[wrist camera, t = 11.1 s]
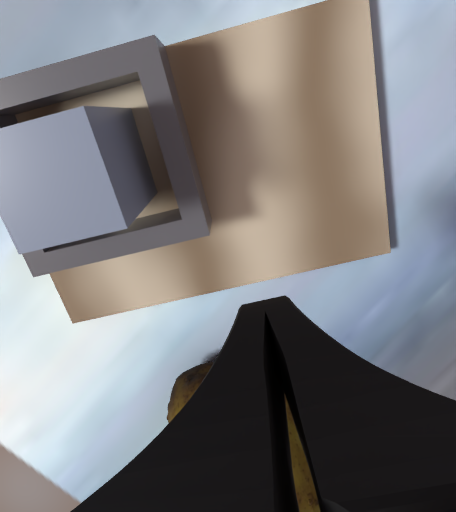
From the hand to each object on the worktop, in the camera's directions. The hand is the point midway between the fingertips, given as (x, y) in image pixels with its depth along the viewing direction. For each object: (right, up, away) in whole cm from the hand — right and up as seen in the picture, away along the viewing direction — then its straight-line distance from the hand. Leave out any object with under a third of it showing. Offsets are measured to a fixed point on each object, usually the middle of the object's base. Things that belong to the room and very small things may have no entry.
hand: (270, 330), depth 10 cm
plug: (-7, +7, +7) cm, 12 cm away
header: (-7, +7, +8) cm, 13 cm away
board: (-3, +6, +8) cm, 11 cm away
